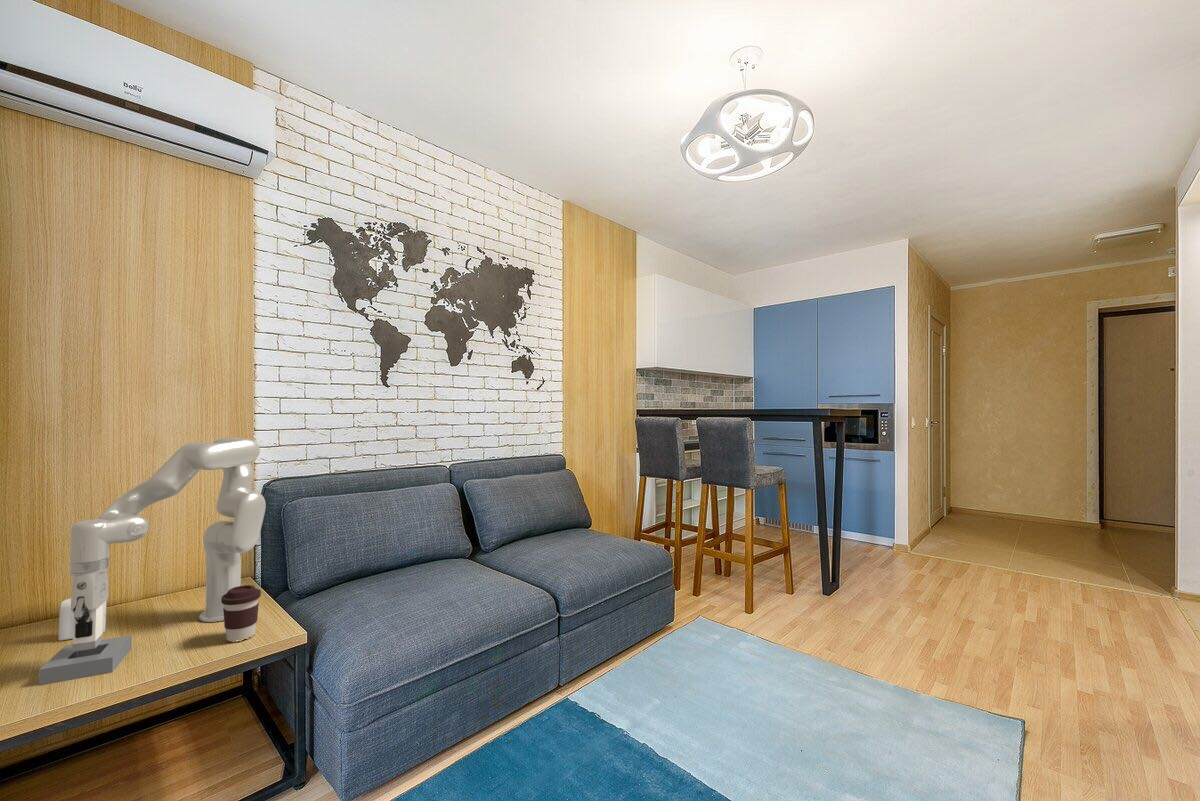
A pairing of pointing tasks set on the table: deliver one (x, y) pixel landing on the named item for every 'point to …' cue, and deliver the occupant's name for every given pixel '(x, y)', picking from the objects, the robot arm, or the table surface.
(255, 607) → the coffee cup
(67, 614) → the photo printer
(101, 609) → the plug
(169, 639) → the table surface
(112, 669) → the socket box
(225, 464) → the robot arm
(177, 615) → the table surface
